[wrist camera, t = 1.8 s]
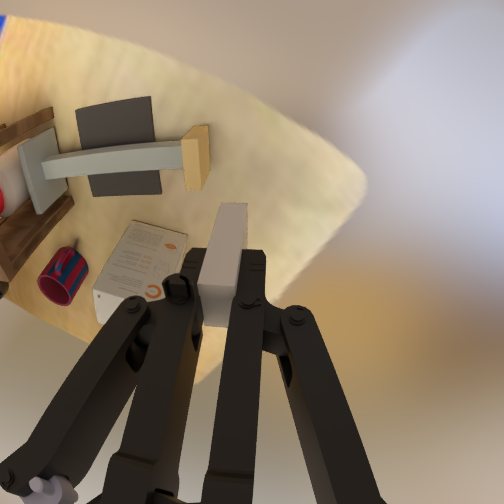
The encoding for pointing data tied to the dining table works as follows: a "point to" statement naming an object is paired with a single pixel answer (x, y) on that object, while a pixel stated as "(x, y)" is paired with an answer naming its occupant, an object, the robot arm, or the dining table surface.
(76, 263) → the mug
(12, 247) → the tunnel
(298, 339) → the robot arm
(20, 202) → the pill bottle
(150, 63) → the dining table surface
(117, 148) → the plunger
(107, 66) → the dining table surface
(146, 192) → the mat
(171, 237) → the small box
